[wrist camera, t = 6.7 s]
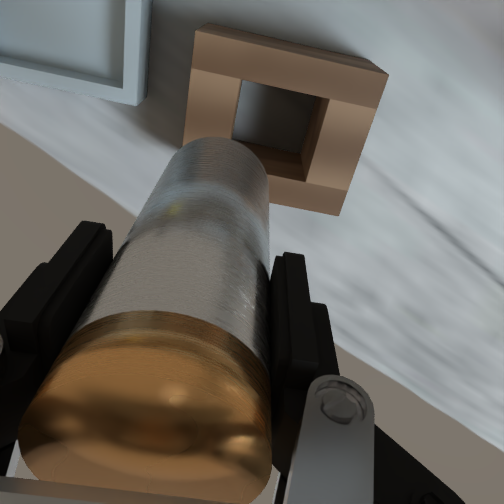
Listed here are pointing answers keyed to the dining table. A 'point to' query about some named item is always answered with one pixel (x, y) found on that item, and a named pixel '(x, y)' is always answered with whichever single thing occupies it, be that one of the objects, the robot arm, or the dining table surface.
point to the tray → (78, 46)
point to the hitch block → (296, 79)
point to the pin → (171, 346)
